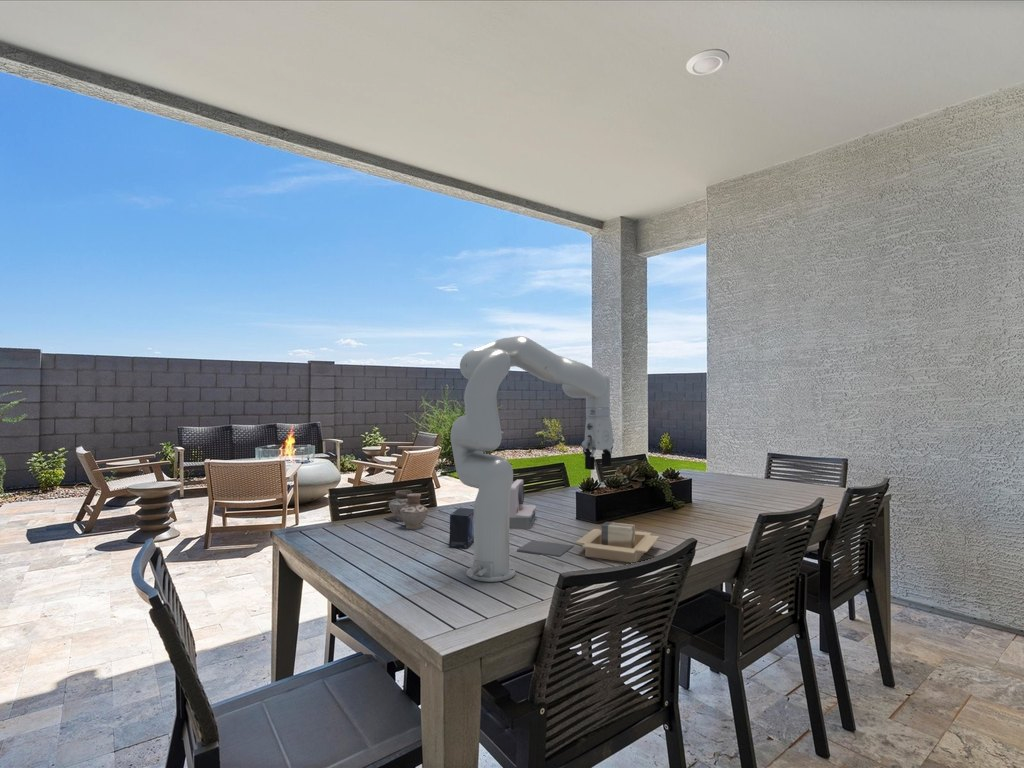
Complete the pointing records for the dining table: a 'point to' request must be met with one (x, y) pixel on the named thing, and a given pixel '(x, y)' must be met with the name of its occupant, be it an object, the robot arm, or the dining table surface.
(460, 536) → the small box
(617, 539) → the box
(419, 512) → the pottery
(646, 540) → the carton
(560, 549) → the mat
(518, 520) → the grey l-shaped block
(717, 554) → the dining table surface
